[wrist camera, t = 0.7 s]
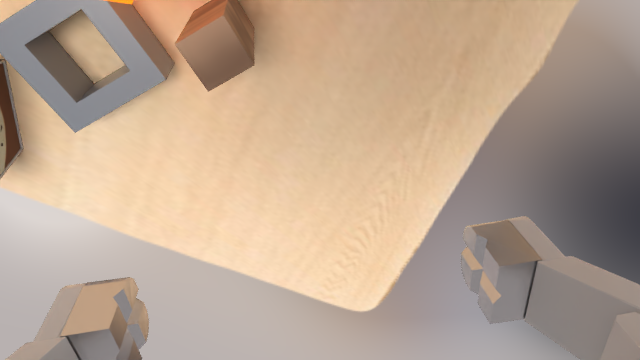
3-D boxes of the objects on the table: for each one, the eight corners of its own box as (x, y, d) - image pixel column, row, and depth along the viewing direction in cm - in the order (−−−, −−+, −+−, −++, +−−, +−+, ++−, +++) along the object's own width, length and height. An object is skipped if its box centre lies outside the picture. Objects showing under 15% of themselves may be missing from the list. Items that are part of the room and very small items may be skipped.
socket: (11, 21, 40) (-18, 34, 36) (102, -38, 38) (82, -31, 34) (92, 111, 45) (75, 132, 41) (174, 62, 43) (166, 79, 39)
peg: (194, 11, 41) (174, 44, 31) (230, -12, 41) (223, 15, 31) (218, 48, 43) (208, 91, 33) (254, 28, 43) (254, 65, 33)
